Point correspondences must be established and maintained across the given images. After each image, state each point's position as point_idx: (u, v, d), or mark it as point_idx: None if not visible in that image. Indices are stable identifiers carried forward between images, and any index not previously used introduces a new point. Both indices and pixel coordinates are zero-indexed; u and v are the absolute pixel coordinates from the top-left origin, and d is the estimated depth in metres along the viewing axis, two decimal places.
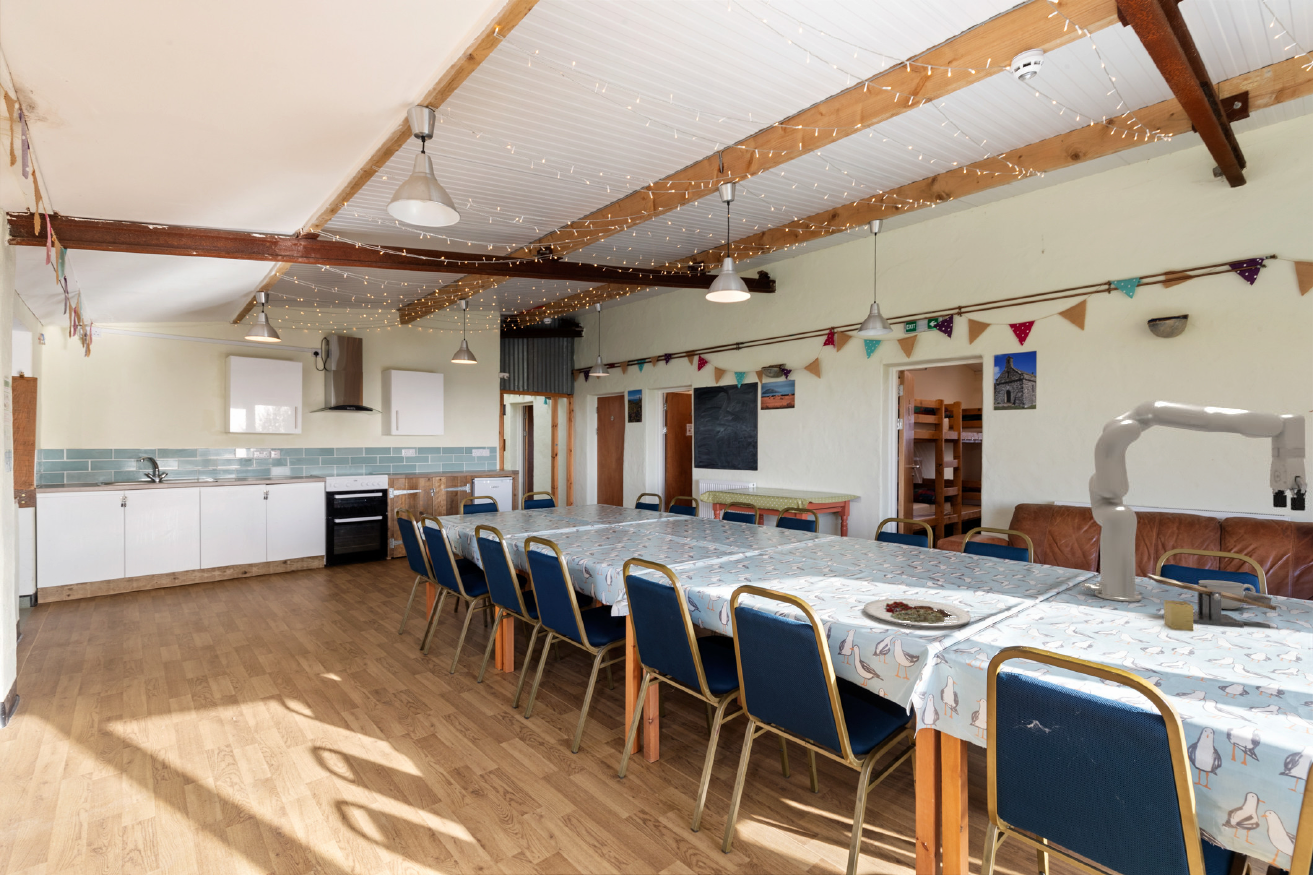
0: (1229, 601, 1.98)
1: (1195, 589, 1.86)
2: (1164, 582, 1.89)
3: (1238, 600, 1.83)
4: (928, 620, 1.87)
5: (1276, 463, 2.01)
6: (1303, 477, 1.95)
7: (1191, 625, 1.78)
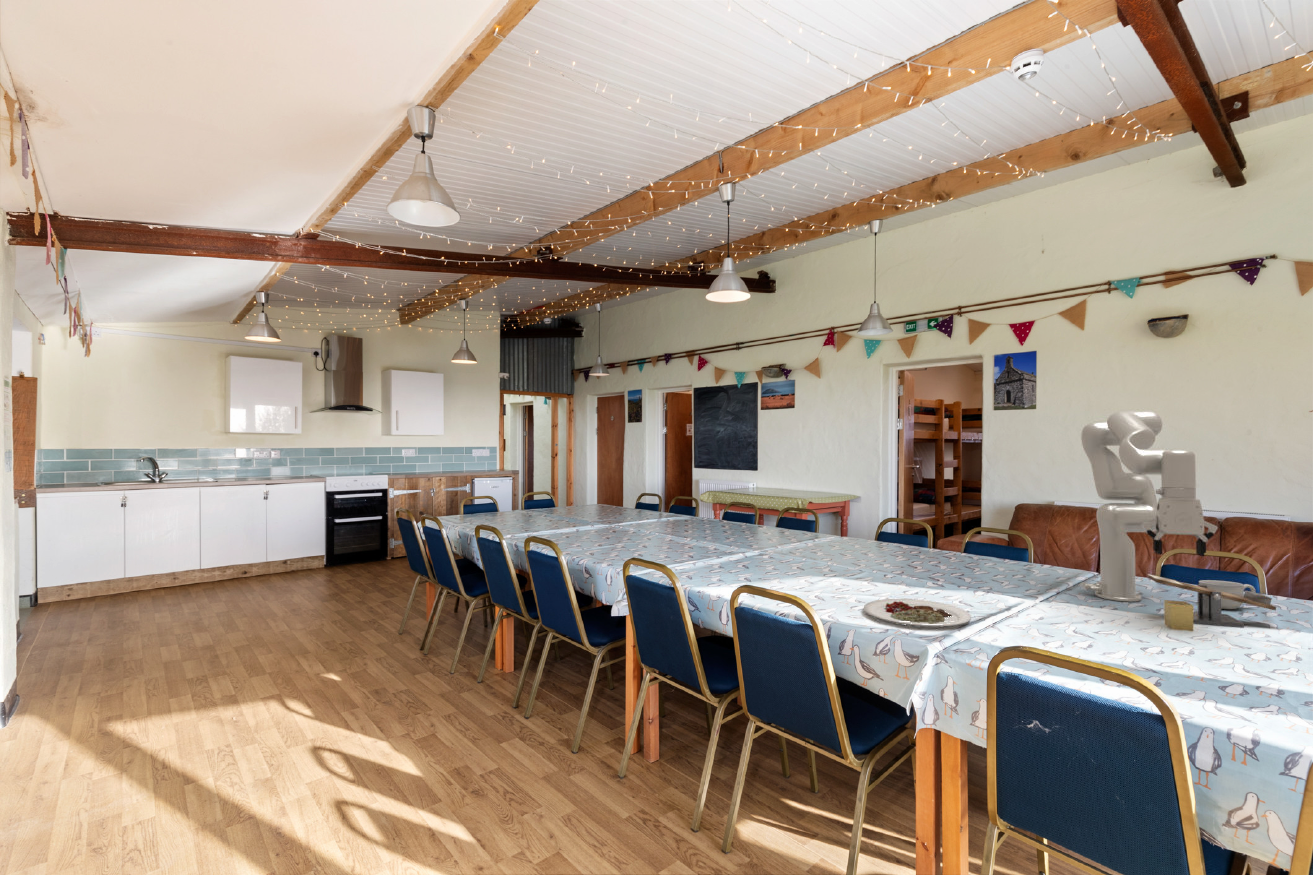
0: (1229, 601, 1.98)
1: (1195, 589, 1.86)
2: (1164, 582, 1.89)
3: (1238, 600, 1.83)
4: (928, 620, 1.87)
5: (1182, 505, 1.79)
6: None
7: (1191, 625, 1.78)
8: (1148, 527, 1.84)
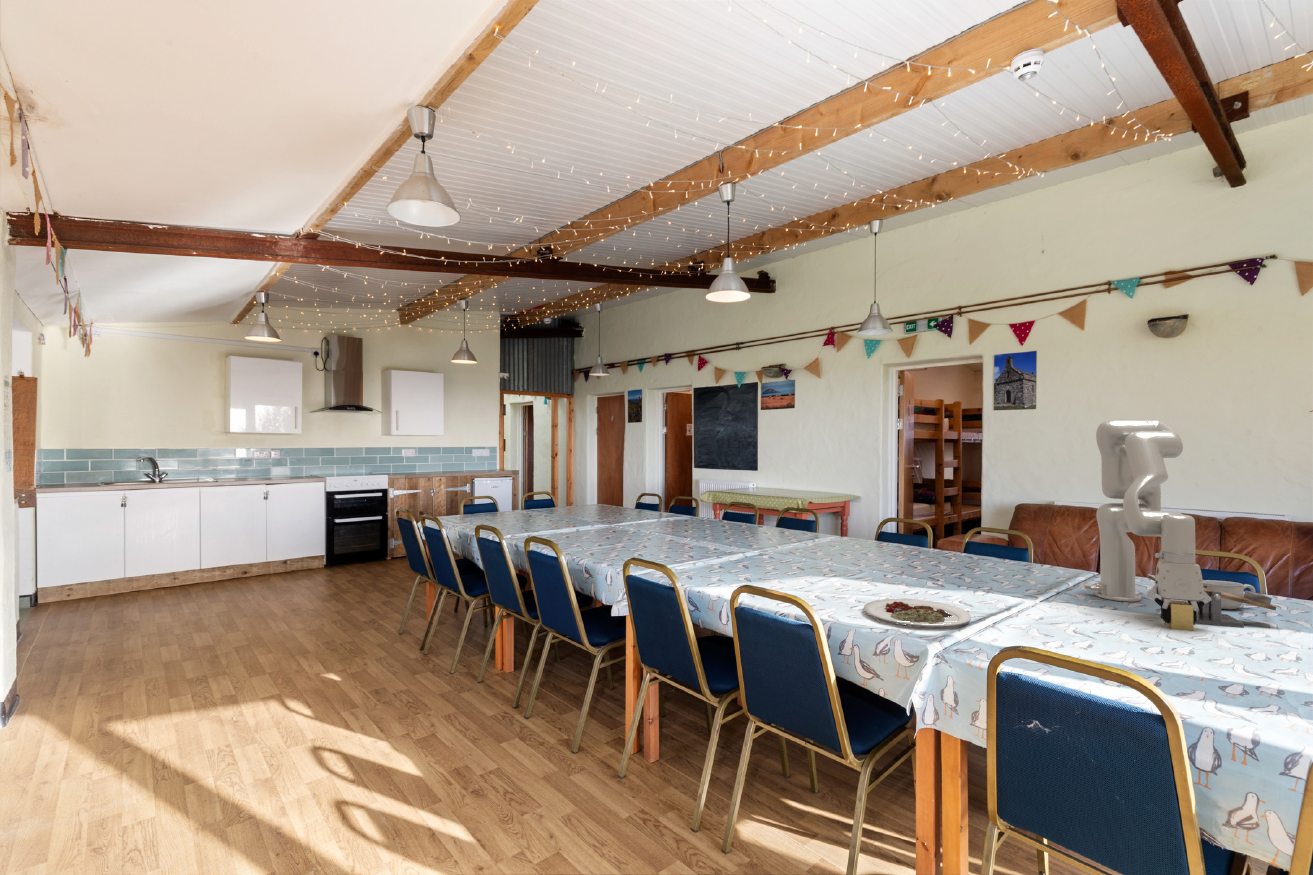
0: (1229, 601, 1.98)
1: None
2: None
3: (1238, 600, 1.83)
4: (928, 620, 1.87)
5: (1182, 571, 1.79)
6: None
7: (1191, 625, 1.78)
8: (1154, 596, 1.83)
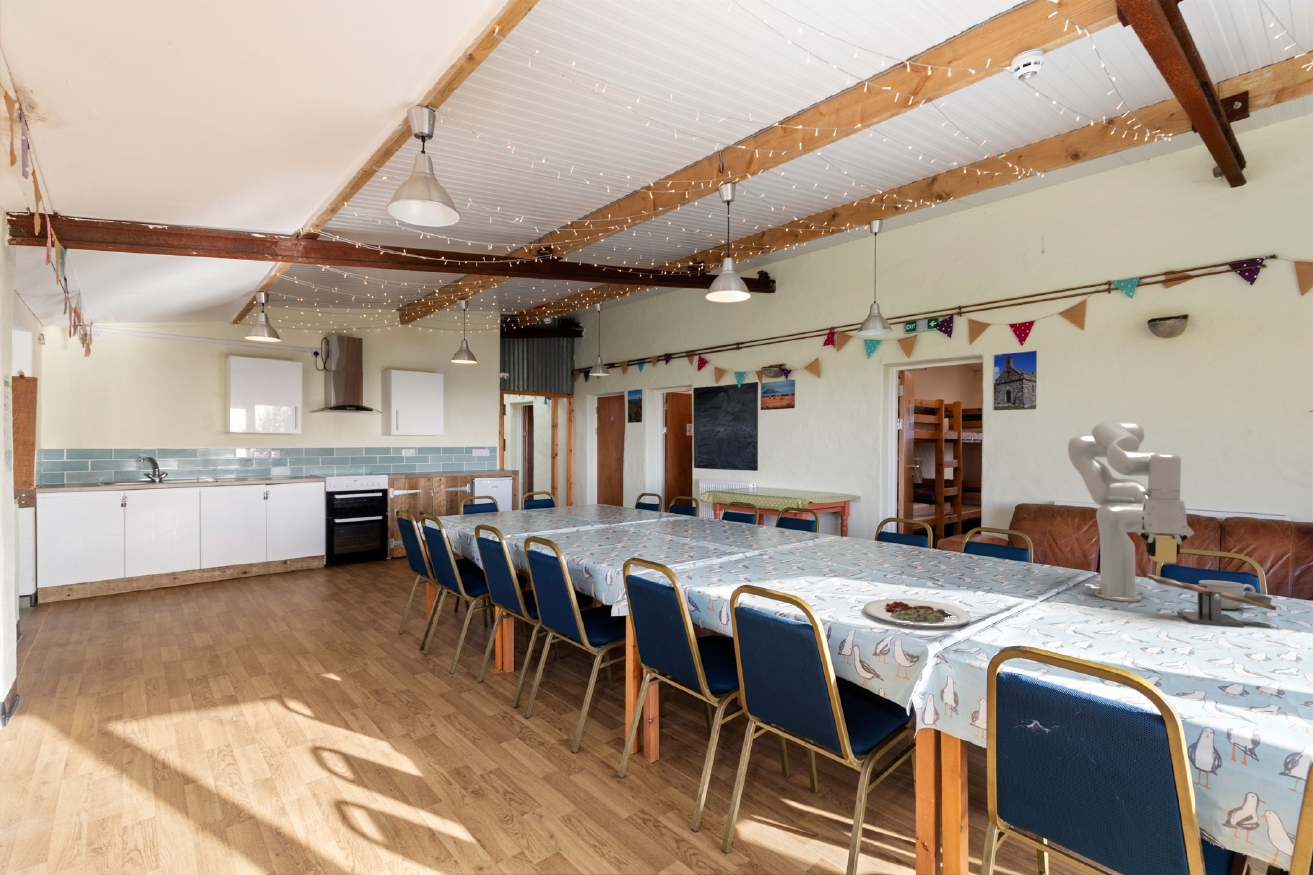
0: (1229, 601, 1.98)
1: (1195, 589, 1.86)
2: (1164, 582, 1.89)
3: (1238, 600, 1.83)
4: (928, 620, 1.87)
5: (1167, 506, 1.88)
6: None
7: (1174, 557, 1.88)
8: (1140, 531, 1.93)
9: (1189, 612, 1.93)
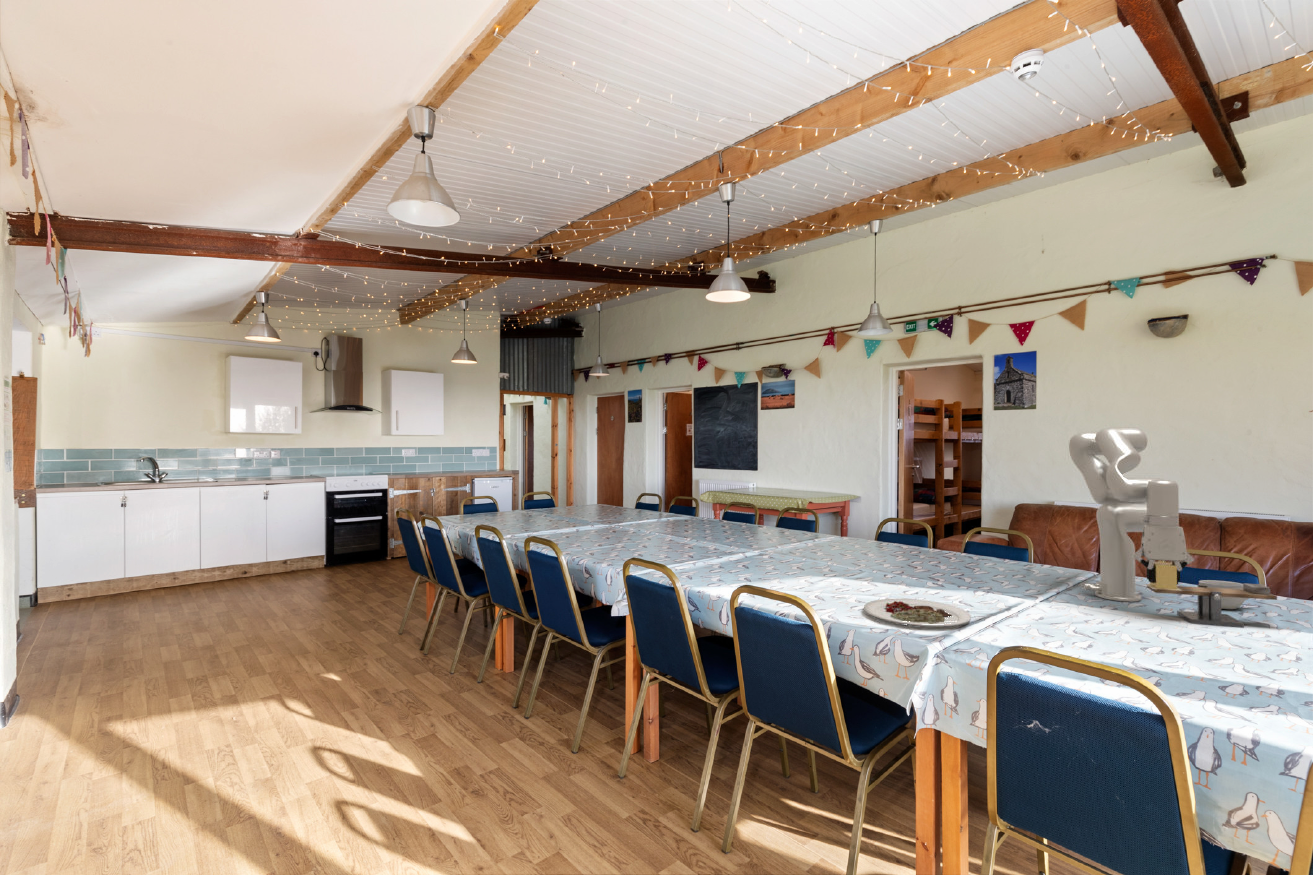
0: (1229, 601, 1.98)
1: (1194, 592, 1.86)
2: (1163, 591, 1.89)
3: (1238, 596, 1.83)
4: (928, 620, 1.87)
5: (1166, 533, 1.89)
6: None
7: (1174, 584, 1.89)
8: (1140, 557, 1.93)
9: (1189, 612, 1.93)
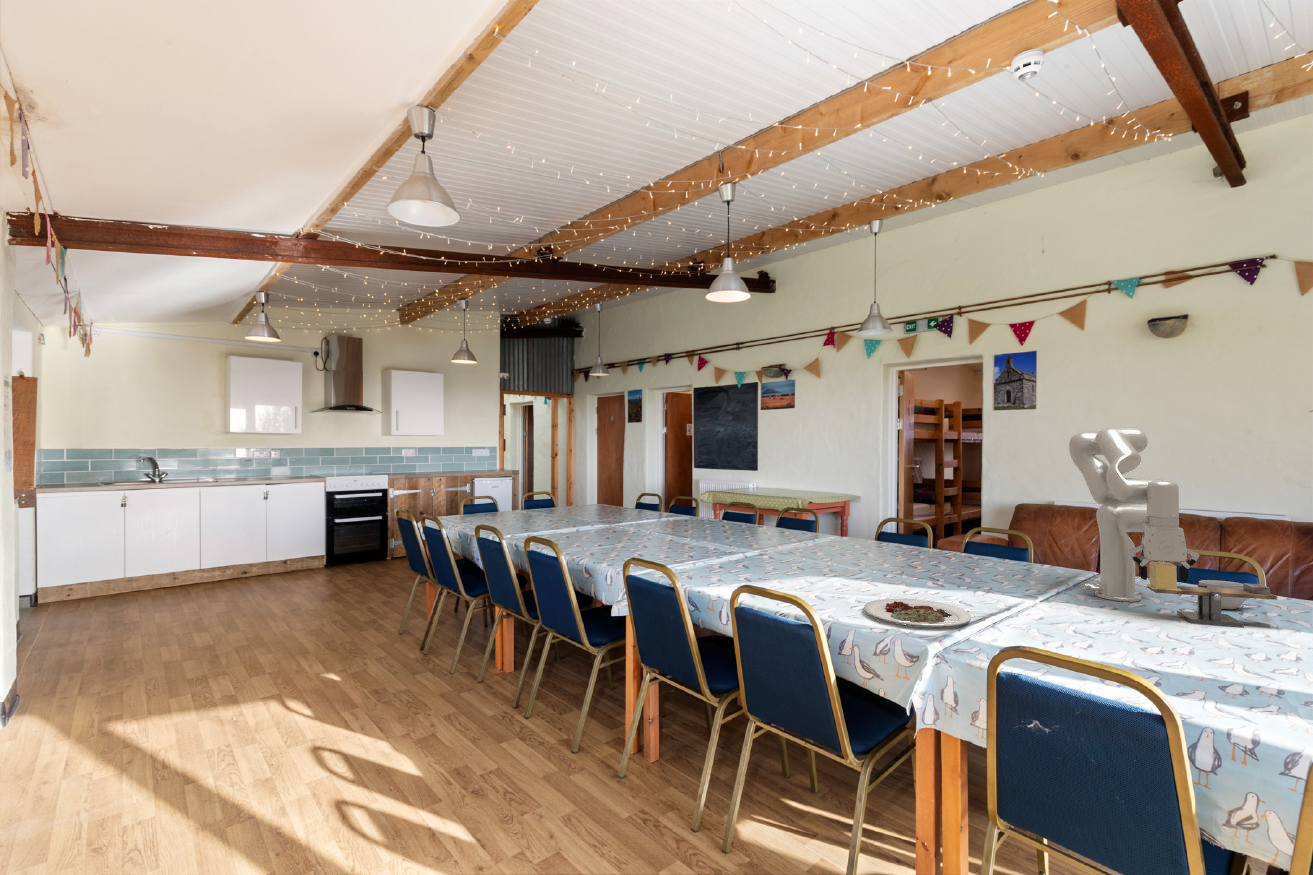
0: (1229, 601, 1.98)
1: (1194, 592, 1.86)
2: (1163, 591, 1.89)
3: (1238, 596, 1.83)
4: (928, 620, 1.87)
5: (1166, 534, 1.89)
6: None
7: (1174, 584, 1.89)
8: (1134, 554, 1.94)
9: (1189, 612, 1.93)
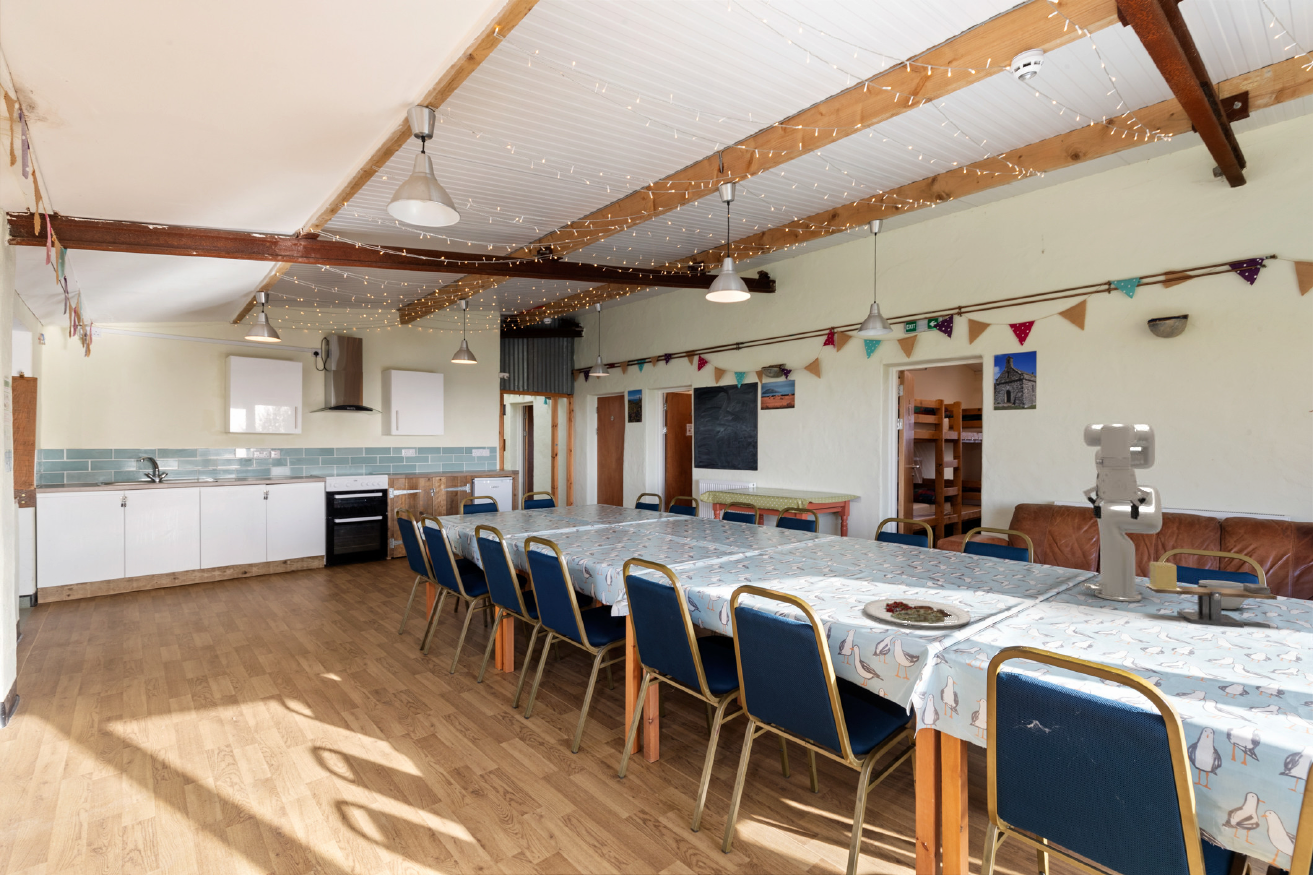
0: (1229, 601, 1.98)
1: (1194, 592, 1.86)
2: (1163, 591, 1.89)
3: (1238, 596, 1.83)
4: (928, 620, 1.87)
5: (1119, 474, 1.97)
6: None
7: (1174, 584, 1.89)
8: (1089, 494, 2.01)
9: (1189, 612, 1.93)
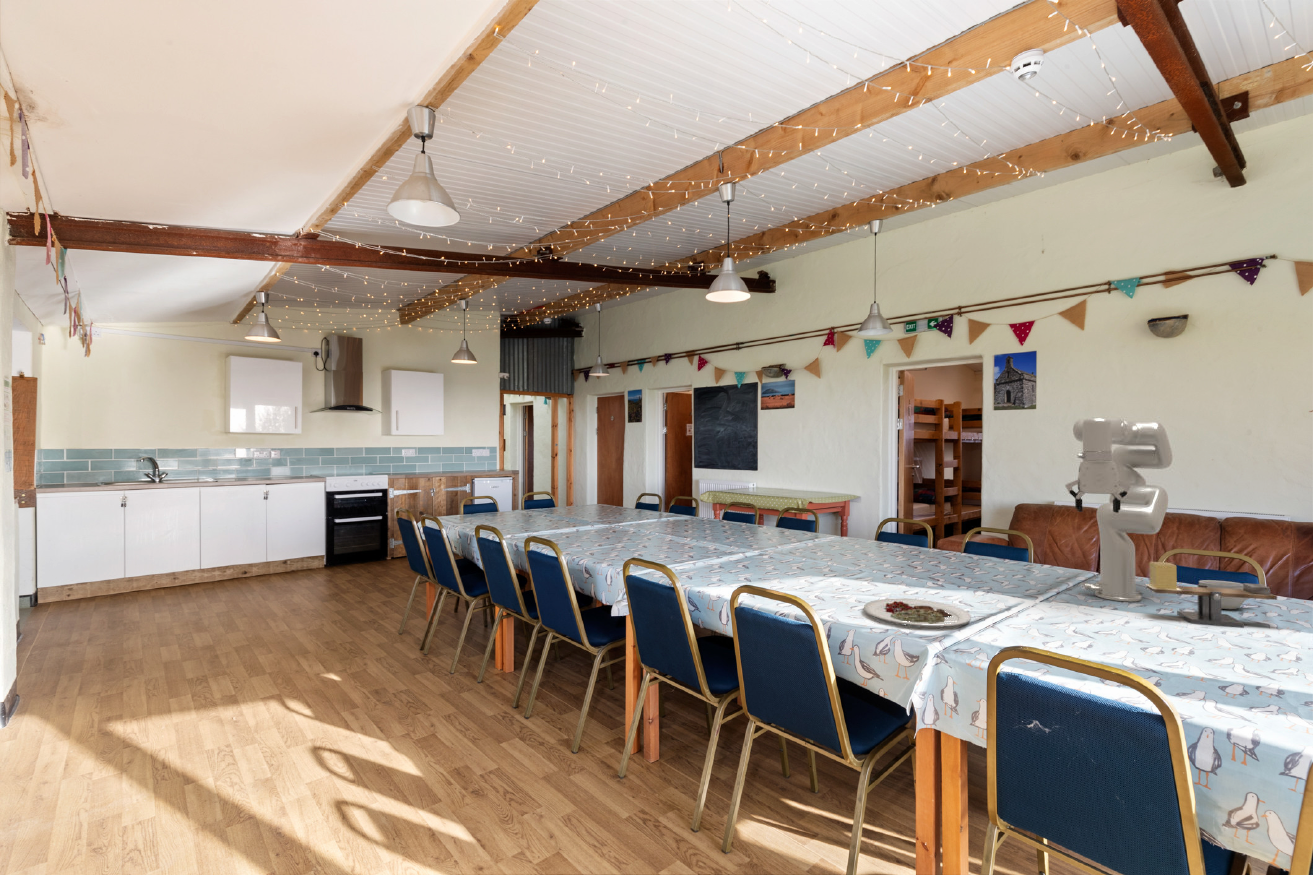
0: (1229, 601, 1.98)
1: (1194, 592, 1.86)
2: (1163, 591, 1.89)
3: (1238, 596, 1.83)
4: (928, 620, 1.87)
5: (1099, 467, 2.00)
6: None
7: (1174, 584, 1.89)
8: (1070, 487, 2.05)
9: (1189, 612, 1.93)
